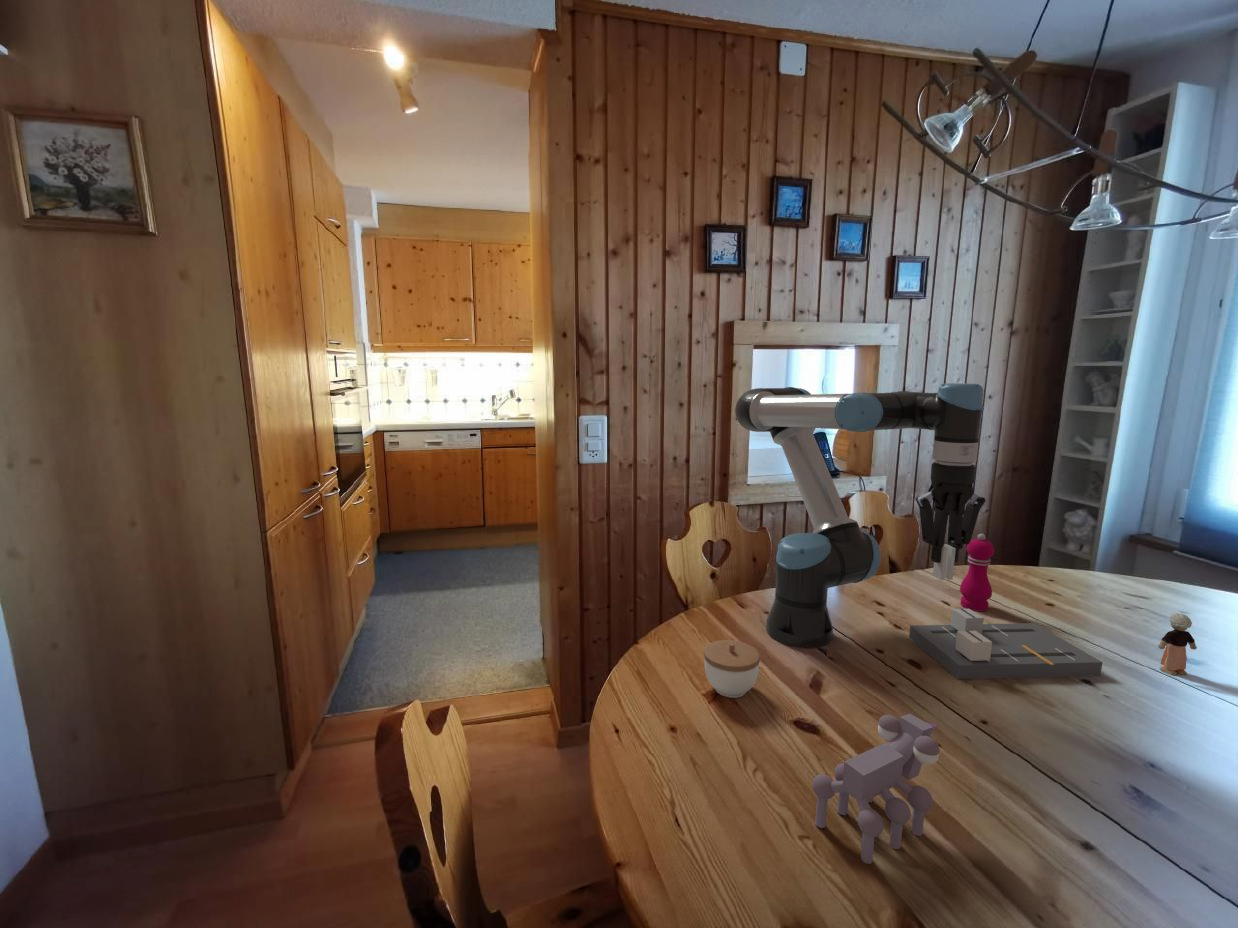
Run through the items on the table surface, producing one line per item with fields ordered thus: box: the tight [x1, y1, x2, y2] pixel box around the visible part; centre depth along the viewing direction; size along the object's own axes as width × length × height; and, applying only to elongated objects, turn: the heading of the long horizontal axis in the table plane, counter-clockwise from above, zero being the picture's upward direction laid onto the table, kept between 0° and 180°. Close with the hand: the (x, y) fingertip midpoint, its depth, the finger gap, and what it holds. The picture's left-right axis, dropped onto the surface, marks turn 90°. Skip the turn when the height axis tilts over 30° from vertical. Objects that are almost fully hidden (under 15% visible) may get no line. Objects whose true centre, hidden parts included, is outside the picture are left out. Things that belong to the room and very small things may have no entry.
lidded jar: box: [703, 639, 761, 699], centre depth 109 cm, size 11×11×9 cm
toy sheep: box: [811, 713, 940, 865], centre depth 77 cm, size 20×11×14 cm, turn 118°
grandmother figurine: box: [1157, 612, 1198, 676], centre depth 115 cm, size 8×4×13 cm, turn 104°
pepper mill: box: [959, 533, 995, 612], centre depth 147 cm, size 7×7×20 cm
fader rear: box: [950, 608, 984, 635], centre depth 127 cm, size 4×5×4 cm
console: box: [908, 622, 1103, 680], centre depth 123 cm, size 30×18×3 cm, turn 92°
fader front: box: [955, 631, 992, 661], centre depth 116 cm, size 4×5×4 cm
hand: (942, 577), depth 114 cm, fingers closed
